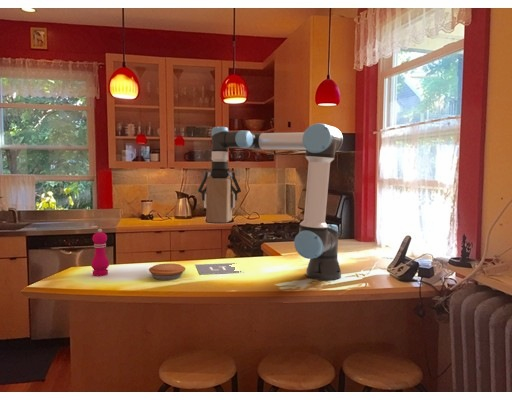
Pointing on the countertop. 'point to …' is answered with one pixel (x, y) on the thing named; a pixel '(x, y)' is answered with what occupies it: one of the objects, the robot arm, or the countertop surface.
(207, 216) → the block
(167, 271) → the pie
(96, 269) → the pepper mill
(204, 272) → the board
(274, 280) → the countertop surface
